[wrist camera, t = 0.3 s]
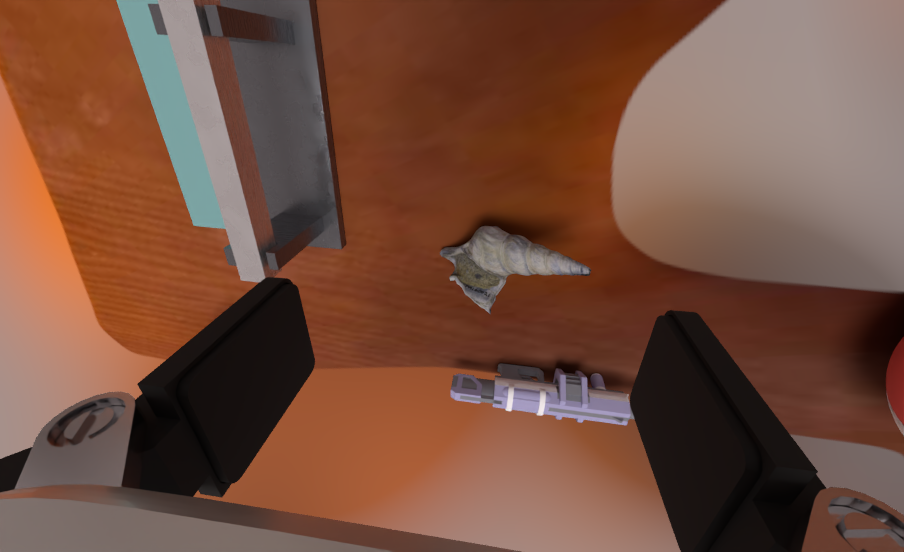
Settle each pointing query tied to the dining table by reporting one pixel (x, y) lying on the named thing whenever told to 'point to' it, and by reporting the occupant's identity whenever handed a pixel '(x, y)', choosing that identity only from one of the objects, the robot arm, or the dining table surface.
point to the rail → (222, 132)
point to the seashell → (502, 263)
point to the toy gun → (546, 394)
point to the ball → (896, 385)
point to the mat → (172, 112)
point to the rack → (284, 117)
